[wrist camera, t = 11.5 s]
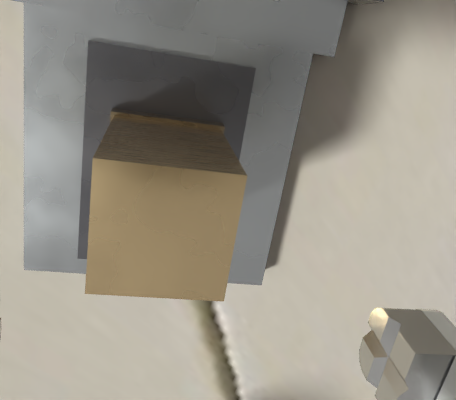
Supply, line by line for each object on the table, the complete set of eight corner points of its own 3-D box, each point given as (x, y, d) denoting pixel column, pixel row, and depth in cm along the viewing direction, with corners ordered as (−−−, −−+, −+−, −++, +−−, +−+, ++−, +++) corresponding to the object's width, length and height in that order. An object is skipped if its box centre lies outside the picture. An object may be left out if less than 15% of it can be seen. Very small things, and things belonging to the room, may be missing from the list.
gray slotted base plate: (384, -103, 18) (416, -121, 16) (290, 275, 25) (303, 301, 23) (3, -202, 15) (-24, -241, 13) (9, 255, 22) (-8, 282, 20)
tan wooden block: (222, 122, 19) (253, 171, 13) (207, 219, 21) (227, 305, 15) (112, 107, 19) (87, 152, 12) (105, 210, 20) (79, 297, 14)
